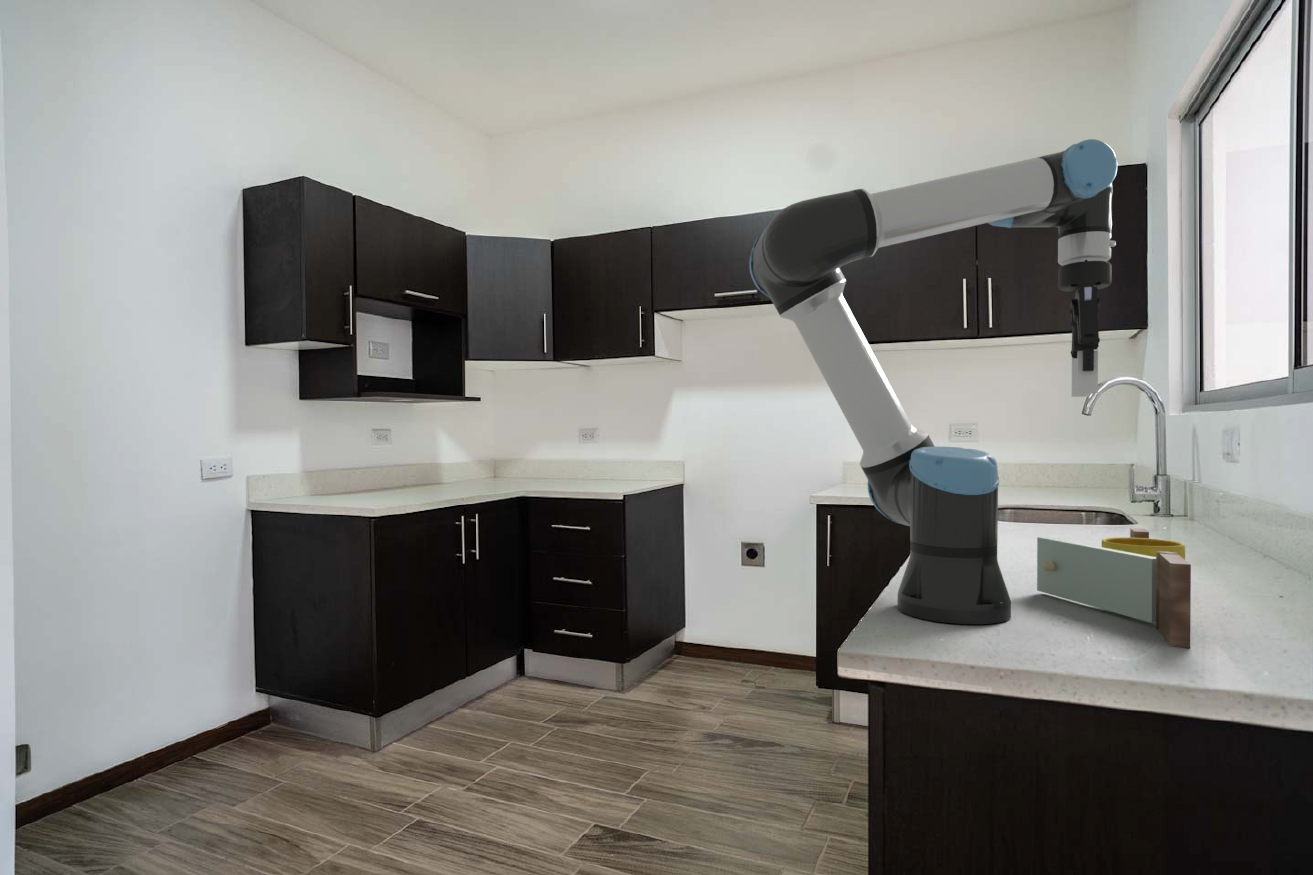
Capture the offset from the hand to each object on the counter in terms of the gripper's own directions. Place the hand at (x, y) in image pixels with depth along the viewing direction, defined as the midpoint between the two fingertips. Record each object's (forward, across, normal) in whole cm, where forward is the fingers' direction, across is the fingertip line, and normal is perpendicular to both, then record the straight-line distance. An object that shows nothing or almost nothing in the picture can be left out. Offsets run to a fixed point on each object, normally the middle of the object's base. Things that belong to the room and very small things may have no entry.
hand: (1083, 395), depth 123 cm
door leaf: (+31, -14, 0) cm, 34 cm away
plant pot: (+32, -10, -7) cm, 34 cm away
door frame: (+32, -14, -8) cm, 36 cm away
